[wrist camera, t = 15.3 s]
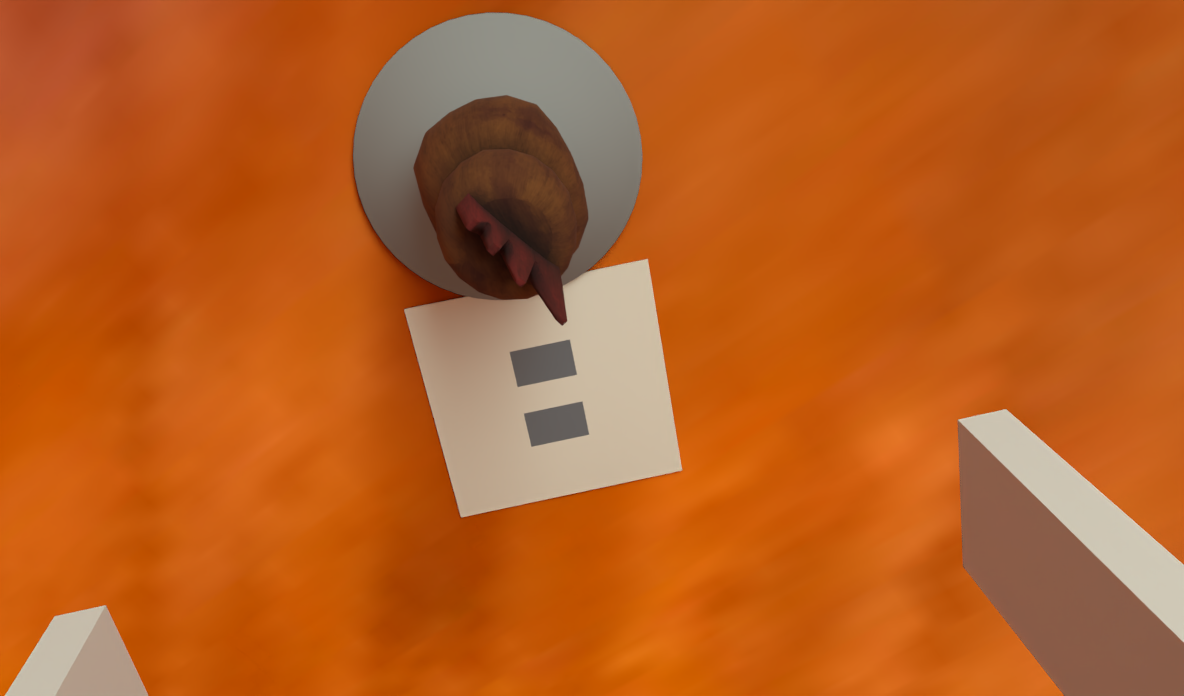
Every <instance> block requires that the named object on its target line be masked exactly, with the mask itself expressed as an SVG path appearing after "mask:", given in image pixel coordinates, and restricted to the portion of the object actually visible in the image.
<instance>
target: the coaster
mask: <svg viewBox="0 0 1184 696" xmlns="http://www.w3.org/2000/svg"><path fill="white" fill-rule="evenodd" d="M503 95H508V96H512V97H515V98H518V99H521V100H524V101H527V102H530V103H534V104H537V105H538V106H539V108H540V109H541V110H542V111H543V112H544V113H545V115H546V116H547V117H548V118H549V119H550V120H551V121H552V123H553V124H554V125H555V126H556V127H557V129H558V131H559V133H560V134H561V136H562V138H563V140H564V141H565V143H566V145H567V147H568V149H569V150H570V152H571V154H572V157H573V159H574V162H575V164H576V167H577V169H578V172H579V174H580V177H581V179H582V182H583V185H584V191H585V196H586V202H587V208H588V222H587V225H586V228H585V231H584V234H583V237H582V239H581V242H580V245H579V248H578V249H577V250H576V251H575V253H574V254H573V255H572V258H571V261H570V264H569V267H568V269H567V270H566V271H565V272H564V273H563V275H562V276H561V279H562V285H565V284H567V283H569V282H570V281H572V280H574V279H576V278H577V277H579V276H580V275H582V274H583V273H584V272H586V271H587V270H588V269H590V268H591V267H592V266H593V265H594V264H596V263H597V262H598V261H599V260H600V259H601V258H602V257H603V256H604V255H605V254H606V253H607V251H608V250H609V249H610V248H611V246H612V245H613V244H614V243H615V241H616V240H617V239H618V237H619V235H620V234H621V232H622V230H623V229H624V227H625V226H626V224H627V221H628V219H629V217H630V215H631V213H632V210H633V208H634V205H635V201H636V198H637V195H638V191H639V186H640V180H641V174H642V146H641V136H640V132H639V127H638V123H637V118H636V115H635V113H634V110H633V107H632V105H631V102H630V99H629V98H628V96H627V94H626V92H625V90H624V88H623V86H622V84H621V83H620V81H619V80H618V78H617V77H616V75H615V74H614V73H613V71H612V70H611V68H610V67H609V66H608V65H607V64H606V63H605V62H604V61H603V60H602V59H601V57H600V56H599V55H598V54H597V53H596V52H595V51H593V50H592V49H591V48H590V47H589V46H587V45H586V44H585V43H584V42H583V41H581V40H580V39H578V38H577V37H575V36H574V35H572V34H570V33H569V32H567V31H566V30H564V29H562V28H559V27H557V26H555V25H553V24H551V23H548V22H546V21H543V20H539V19H536V18H533V17H529V16H525V15H518V14H512V13H480V14H472V15H466V16H462V17H459V18H455V19H451V20H448V21H446V22H443V23H441V24H439V25H436V26H434V27H432V28H430V29H428V30H426V31H425V32H423V33H421V34H420V35H418V36H416V37H415V38H413V39H412V40H411V41H409V42H408V43H407V44H406V45H405V46H403V47H402V48H401V49H400V50H398V51H397V53H396V54H395V55H394V56H393V57H392V58H391V59H390V60H389V61H388V62H387V63H386V64H385V66H384V67H383V69H382V70H381V71H380V73H379V74H378V76H377V77H376V79H375V80H374V81H373V83H372V85H371V87H370V89H369V91H368V93H367V95H366V97H365V99H364V102H363V105H362V107H361V110H360V113H359V116H358V120H357V125H356V130H355V135H354V149H353V161H354V175H355V180H356V184H357V189H358V194H359V196H360V199H361V202H362V205H363V208H364V211H365V213H366V215H367V217H368V219H369V221H370V223H371V225H372V227H373V228H374V230H375V231H376V233H377V234H378V236H379V237H380V239H381V240H382V242H383V243H384V244H385V245H386V247H387V248H388V249H389V250H390V251H391V252H392V253H393V254H394V256H395V257H396V258H397V259H399V260H400V261H401V262H402V263H403V264H404V265H405V266H406V267H408V268H409V269H410V270H411V271H413V272H414V273H416V274H417V275H419V276H420V277H422V278H423V279H425V280H426V281H428V282H430V283H432V284H434V285H436V286H438V287H440V288H443V289H445V290H448V291H451V292H453V293H456V294H459V295H464V296H468V297H472V298H478V299H488V300H501V299H498V298H495V297H492V296H489V295H485V294H482V293H479V292H478V291H476V290H475V289H474V288H472V287H471V286H469V285H468V284H467V283H465V282H464V281H463V280H461V279H460V278H459V277H458V276H457V275H456V273H455V272H454V271H453V269H452V268H451V267H450V266H449V264H448V263H447V262H446V261H445V259H444V256H443V254H442V251H441V248H440V245H439V243H438V240H437V233H436V232H435V230H434V228H433V225H432V223H431V221H430V219H429V217H428V215H427V212H426V210H425V208H424V206H423V203H422V199H421V195H420V192H419V188H418V184H417V180H416V176H415V173H414V169H413V167H414V164H415V161H416V158H417V155H418V152H419V149H420V146H421V143H422V140H423V137H424V135H425V133H426V131H428V130H429V129H430V128H431V127H432V126H434V125H435V124H436V123H437V122H438V121H440V120H441V119H442V118H443V117H444V116H446V115H447V114H448V113H449V112H451V111H453V110H455V109H457V108H459V107H461V106H463V105H465V104H467V103H469V102H471V101H473V100H475V99H482V98H489V97H496V96H503ZM535 296H536V295H535Z"/></svg>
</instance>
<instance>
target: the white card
mask: <svg viewBox="0 0 1184 696" xmlns="http://www.w3.org/2000/svg"><path fill="white" fill-rule="evenodd" d="M563 292H564V300H565V308H566V315H567V322H566V323H565V324H564V325H563V326H562V325H561V324H559V323H558V322H557V321H556V320H555V318H554V317H553V315H552V314H551V312H550V311H549V309H548V308H547V307H546V305H545V304H544V302H543V301H542V299H541V298H540V296H539V295H536V296H533V297H531V298H528V299H513V300H488V299H478V298H472V297H468V296H465V297H460V298H455V299H450V300H445V301H440V302H436V303H431V304H426V305H421V306H416V307H411V308H406V309H404V311H405V315H406V319H407V322H408V326H409V330H410V333H411V337H412V341H413V344H414V348H415V352H416V355H417V359H418V363H419V366H420V370H421V373H422V377H423V381H424V384H425V388H426V392H427V395H428V399H429V403H430V406H431V410H432V414H433V417H434V421H435V424H436V428H437V432H438V435H439V439H440V443H441V446H442V450H443V454H444V457H445V461H446V465H447V468H448V472H449V476H450V479H451V483H452V486H453V490H454V494H455V497H456V501H457V505H458V508H459V512H460V516H461V517H466V516H470V515H475V514H480V513H484V512H489V511H494V510H499V509H503V508H508V507H513V506H517V505H522V504H527V503H531V502H536V501H541V500H546V499H550V498H555V497H560V496H564V495H569V494H574V493H579V492H583V491H588V490H593V489H597V488H602V487H607V486H611V485H616V484H621V483H626V482H630V481H635V480H640V479H644V478H649V477H654V476H658V475H663V474H668V473H673V472H677V471H682V467H681V461H680V455H679V448H678V442H677V436H676V430H675V424H674V418H673V412H672V405H671V399H670V393H669V387H668V381H667V375H666V369H665V362H664V356H663V350H662V344H661V338H660V332H659V325H658V319H657V313H656V307H655V301H654V295H653V289H652V282H651V276H650V270H649V264H648V259H645V260H640V261H635V262H630V263H625V264H620V265H616V266H611V267H606V268H601V269H596V270H591V271H586V272H584V273H583V274H582V275H580V276H579V277H577V278H576V279H574V280H572V281H570V282H569V283H567V284H565V285H563Z"/></svg>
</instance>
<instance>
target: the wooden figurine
mask: <svg viewBox="0 0 1184 696" xmlns="http://www.w3.org/2000/svg"><path fill="white" fill-rule="evenodd" d="M413 169H414V173H415V176H416V180H417V184H418V188H419V192H420V195H421V199H422V203H423V206H424V208H425V210H426V212H427V215H428V217H429V219H430V221H431V223H432V225H433V228H434V230H435V232H436V233H437V240H438V243H439V245H440V248H441V251H442V254H443V256H444V259H445V261H446V262H447V263H448V264H449V266H450V267H451V268H452V269H453V271H454V272H455V273H456V275H457V276H458V277H459V278H460V279H461V280H463V281H464V282H465V283H467V284H468V285H469V286H471V287H472V288H474V289H475V290H476V291H478V292H479V293H482V294H485V295H489V296H492V297H495V298H498V299H501V300H513V299H528V298H531V297H533V296H535V295H539V296H540V298H541V299H542V301H543V302H544V304H545V305H546V307H547V308H548V309H549V311H550V312H551V314H552V315H553V317H554V318H555V320H556V321H557V322H558V323H559V324H561V325H562V326H563V325H564V324H565V323H566V322H567V315H566V308H565V300H564V292H563V285H562V279H561V276H562V275H563V273H564V272H565V271H566V270H567V269H568V267H569V264H570V261H571V258H572V255H573V254H574V253H575V251H576V250H577V249H578V248H579V245H580V242H581V239H582V237H583V234H584V231H585V228H586V225H587V222H588V208H587V202H586V196H585V191H584V185H583V182H582V179H581V177H580V174H579V172H578V169H577V167H576V164H575V162H574V159H573V157H572V154H571V152H570V150H569V149H568V147H567V145H566V143H565V141H564V140H563V138H562V136H561V134H560V133H559V131H558V129H557V127H556V126H555V125H554V124H553V123H552V121H551V120H550V119H549V118H548V117H547V116H546V115H545V113H544V112H543V111H542V110H541V109H540V108H539V106H538V105H537V104H534V103H530V102H527V101H524V100H521V99H518V98H515V97H512V96H508V95H503V96H496V97H489V98H482V99H475V100H473V101H471V102H469V103H467V104H465V105H463V106H461V107H459V108H457V109H455V110H453V111H451V112H449V113H448V114H447V115H446V116H444V117H443V118H442V119H441V120H440V121H438V122H437V123H436V124H435V125H434V126H432V127H431V128H430V129H429V130H428V131H426V133H425V135H424V137H423V140H422V143H421V146H420V149H419V152H418V155H417V158H416V161H415V164H414V167H413Z"/></svg>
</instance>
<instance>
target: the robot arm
mask: <svg viewBox="0 0 1184 696" xmlns="http://www.w3.org/2000/svg"><path fill="white" fill-rule="evenodd" d="M958 441H959V468H960V496H961V523H962V551H963V567H964V568H965V569H966V571H967V572H968V573H969V575H970V576H971V577H972V578H973V580H974V581H975V582H976V583H977V585H978V586H979V587H980V589H981V590H982V591H983V592H984V594H985V595H986V596H987V597H988V599H989V600H990V601H991V603H992V604H993V605H994V606H995V608H996V609H997V610H998V612H999V613H1000V614H1001V615H1002V617H1003V618H1004V619H1005V620H1006V622H1007V623H1008V624H1009V626H1010V627H1011V628H1012V629H1013V631H1014V632H1015V633H1016V634H1017V636H1018V637H1019V638H1020V640H1021V641H1022V642H1023V643H1024V645H1025V646H1026V647H1027V649H1028V650H1029V651H1030V652H1031V654H1032V655H1033V656H1034V657H1035V659H1036V660H1037V661H1038V663H1039V664H1040V665H1041V666H1042V668H1043V669H1044V670H1045V671H1046V673H1047V674H1048V675H1049V677H1050V678H1051V679H1052V680H1053V682H1054V683H1055V684H1056V686H1057V687H1058V688H1059V689H1060V691H1061V692H1062V693H1063V694H1064V696H1184V565H1183V564H1182V563H1181V562H1180V561H1179V560H1178V559H1176V558H1175V557H1174V556H1173V555H1172V554H1171V553H1170V552H1168V551H1167V550H1166V549H1165V548H1164V547H1163V546H1162V545H1160V544H1159V543H1158V542H1157V541H1156V540H1155V539H1154V538H1152V537H1151V536H1150V535H1149V534H1148V533H1147V532H1146V531H1144V530H1143V529H1142V528H1141V527H1140V526H1139V525H1138V524H1136V523H1135V522H1134V521H1133V520H1132V519H1131V518H1130V517H1128V516H1127V515H1126V514H1125V513H1124V512H1123V511H1122V510H1120V509H1119V508H1118V507H1117V506H1116V505H1115V504H1114V503H1112V502H1111V501H1110V500H1109V499H1108V498H1107V497H1106V496H1104V495H1103V494H1102V493H1101V492H1100V491H1099V490H1098V489H1097V488H1095V487H1094V486H1093V485H1092V484H1091V483H1090V482H1089V481H1087V480H1086V479H1085V478H1084V477H1083V476H1082V475H1081V474H1079V473H1078V472H1077V471H1076V470H1075V469H1074V468H1073V467H1071V466H1070V465H1069V464H1068V463H1067V462H1066V461H1065V460H1063V459H1062V458H1061V457H1060V456H1059V455H1058V454H1057V453H1055V452H1054V451H1053V450H1052V449H1051V448H1050V447H1049V446H1047V445H1046V444H1045V443H1044V442H1043V441H1042V440H1041V439H1039V438H1038V437H1037V436H1036V435H1035V434H1034V433H1033V432H1031V431H1030V430H1029V429H1028V428H1027V427H1026V426H1025V425H1023V424H1022V423H1021V422H1020V421H1019V420H1018V419H1017V418H1015V417H1014V416H1013V415H1012V414H1011V413H1010V412H1009V411H1007V410H1006V409H1005V410H1000V411H996V412H991V413H986V414H982V415H977V416H973V417H968V418H964V419H959V420H958ZM5 696H148V694H147V692H146V689H145V687H144V685H143V683H142V681H141V679H140V677H139V675H138V672H137V670H136V668H135V666H134V664H133V662H132V660H131V658H130V656H129V653H128V651H127V649H126V647H125V645H124V643H123V641H122V639H121V636H120V634H119V632H118V630H117V628H116V626H115V624H114V622H113V619H112V617H111V615H110V613H109V611H108V609H107V607H106V605H105V606H100V607H96V608H91V609H86V610H82V611H77V612H73V613H68V614H63V615H59V616H55V617H54V618H53V620H52V621H51V623H50V625H49V626H48V628H47V629H46V631H45V633H44V634H43V636H42V637H41V639H40V641H39V642H38V644H37V645H36V647H35V649H34V650H33V652H32V653H31V655H30V656H29V658H28V660H27V661H26V663H25V664H24V666H23V668H22V669H21V671H20V672H19V674H18V676H17V677H16V679H15V680H14V682H13V684H12V685H11V687H10V688H9V690H8V692H7V693H6V695H5Z"/></svg>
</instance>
